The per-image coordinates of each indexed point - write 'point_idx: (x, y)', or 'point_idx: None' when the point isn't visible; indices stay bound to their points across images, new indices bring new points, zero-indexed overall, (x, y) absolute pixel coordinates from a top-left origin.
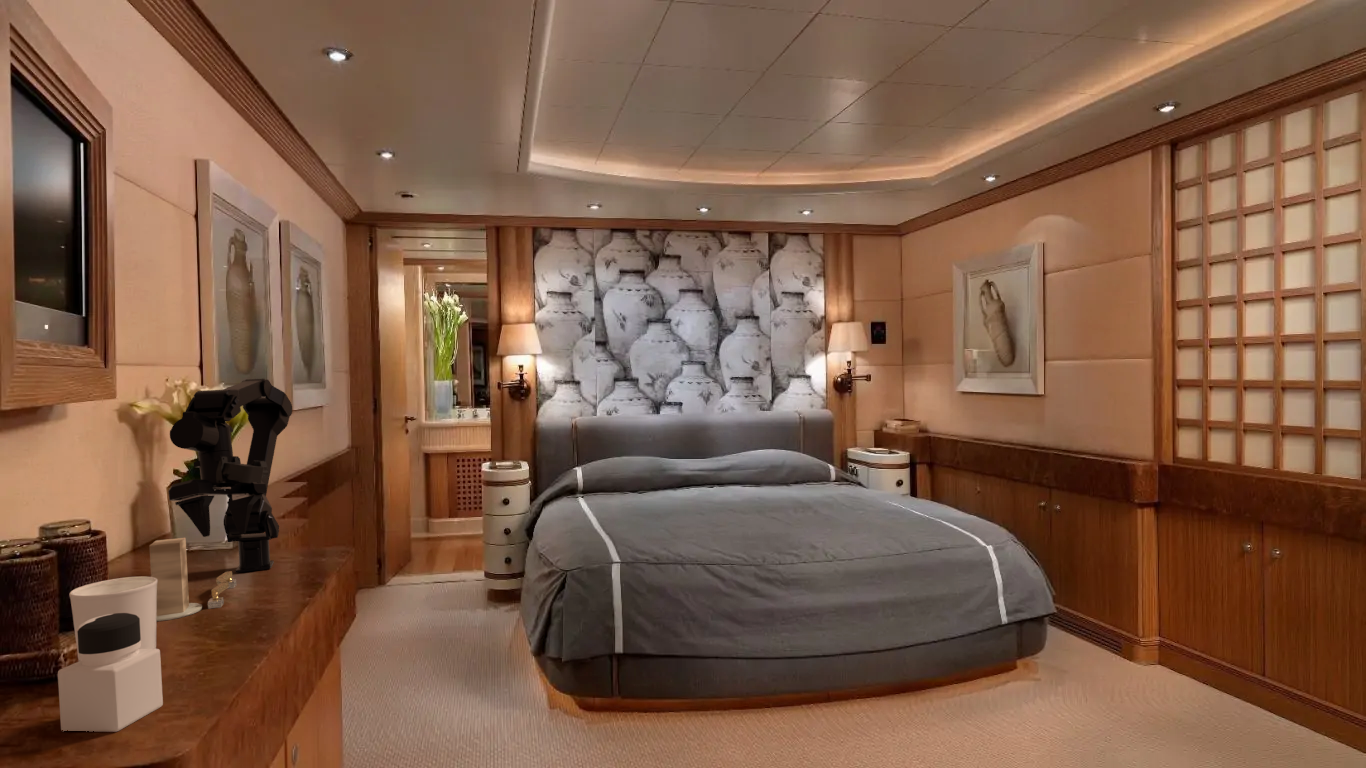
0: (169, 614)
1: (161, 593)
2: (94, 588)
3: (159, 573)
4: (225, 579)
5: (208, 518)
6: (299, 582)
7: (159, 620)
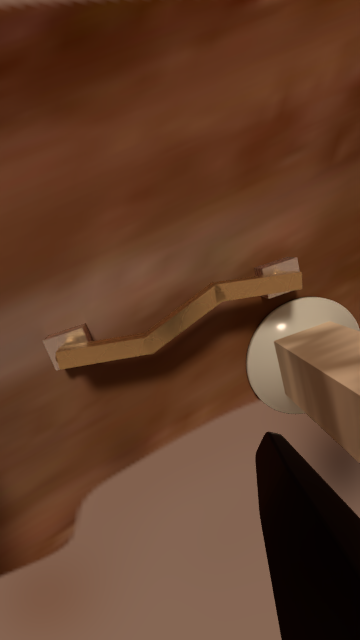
0: None
1: None
2: None
3: None
4: (122, 337)
5: (351, 537)
6: (45, 112)
7: None
